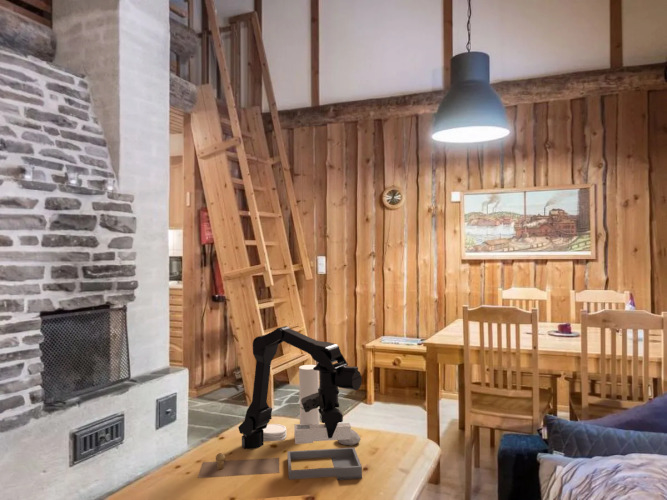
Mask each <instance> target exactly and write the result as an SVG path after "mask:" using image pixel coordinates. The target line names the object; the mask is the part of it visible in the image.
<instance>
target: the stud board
mask: <svg viewBox="0 0 667 500" xmlns="http://www.w3.org/2000/svg"><path fill="white" fill-rule="evenodd" d="M279 473H280V457H267V458H264V457H263V458H252V459H251V458H249V459H237V460H236V459H235V460H233V459H232V460H231V459H230V460H226V455H225V454H224V453H223V452H219V453H217V454H216V455H215V461H204V462H203V461H202V463H201V466H200V470H199V473H198V475H197V479H205V478H206V479H207V478H221V477H235V476H237V477H238V476H251V475H265V474H269V475H270V474H279Z"/></svg>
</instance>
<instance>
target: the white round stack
mask: <svg viewBox="0 0 667 500" xmlns="http://www.w3.org/2000/svg"><path fill="white" fill-rule="evenodd" d="M287 436H288V435H287V427H286V426H285V425H283V424H279V423H268V424H267V427H266V428H265V429H263V437H264V442H278V441H282V442H283V441H284V440H285V439H286V438H287Z"/></svg>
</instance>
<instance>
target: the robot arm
mask: <svg viewBox="0 0 667 500" xmlns="http://www.w3.org/2000/svg"><path fill="white" fill-rule="evenodd" d="M283 342H284V343H286V344H288V345H290V346H293V347H295V348H297V349H299V350H301V351H303V352H305V353H307V354H308V355H310V356H311V358H312V360H314V361H315V362H316V363H317V364H315V365H316V366H315V367H314V368H313V370H317V371H319V388H318V393H315V394H312V395H309V396H307V397H304V398H302V399H301V402H302V405H303V408H304V410H305V412H309V411H310V410H312V409H315V408H317V407H319V409H318V411H319V419H320V421H321V423H322V424H326V429H327V434H328V438H332V436H333V434H334V432H335V429H336V427H337V425H338V423H344V422H343V421H344V414H343V412H342V411H341V410H340V409H339V408H340V403H339V394H340V390H339V389H345V390H352V391H358V390H359V389H360V388H361V386H362V382H363V377H362V374H361V372H360V371H359V366H351V365H350V366H349V364H348V362H347V360H346V359H345V357H344V355H343V353H342V352H341V349H340V346H339V345H338V344H336V343H333V342H329V341H323V340H322V341H321V340H316V339H314V338H311V337H309V336H308V335H305V334H303V333H301V332H298V331H296V330H294V329H292V328H290V327H289V326H288V325H287V326H286V325H285V326H280V327H277V328H276V329H274V330H272V331H270V332H269V333H266V334H263V335H259V336H256V337H254V339H253V342H252V354H253V357H254V359H255V371H254V380H253V381H254V382H253V388H252V389H253V390H252V399H251V402H250V404H249V406H248V408H247V409H246V412H245V415H244V420H243V421H242V422H241V424H240V425H239V426H237V427H238V431H239V434H241V435H242V436H241V448H243V449H244V450H248V449H250V450H254V449H255V450H256V449H259V448H261V447H262V446H264V443H265V441H264V437H263V429H265V428H266V427H267V425H268V424H270V421H271V420H272V419H273V418H272V412H273V408H272V407H270V406H269V404H268V395H269V394H268V393H269V385H270V384H269V383H270V373H271V368H272V367H271V365H272V361H273V359H274V357H275V356H276V354H277V351H278V347H279V345H280V344H282V343H283Z"/></svg>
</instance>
